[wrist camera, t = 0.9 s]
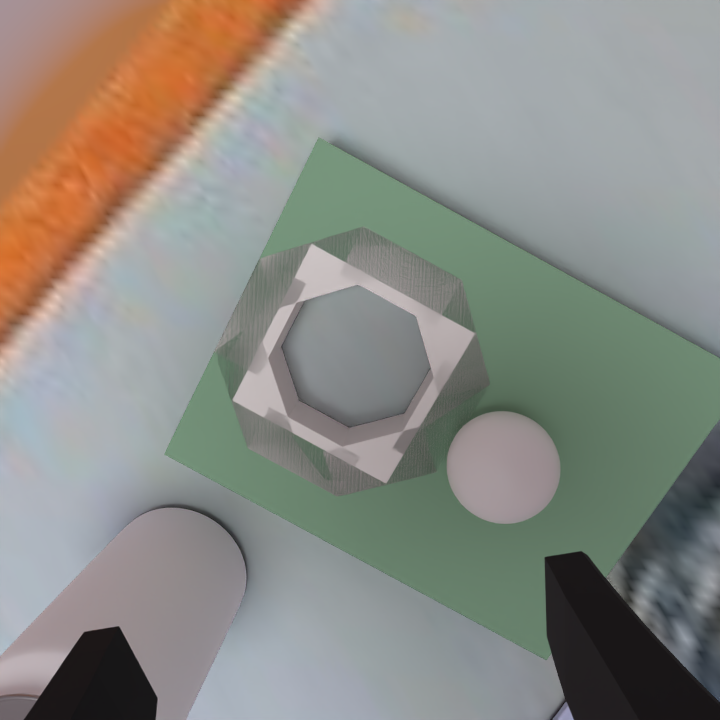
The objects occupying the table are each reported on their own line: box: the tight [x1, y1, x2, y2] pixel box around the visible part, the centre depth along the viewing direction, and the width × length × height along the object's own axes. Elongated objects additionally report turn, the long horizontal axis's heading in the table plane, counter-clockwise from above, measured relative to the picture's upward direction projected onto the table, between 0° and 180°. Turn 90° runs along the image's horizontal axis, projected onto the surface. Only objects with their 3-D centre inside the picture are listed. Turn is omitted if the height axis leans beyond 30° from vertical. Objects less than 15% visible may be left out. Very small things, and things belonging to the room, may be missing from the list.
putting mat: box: [165, 138, 720, 660], centre depth 27 cm, size 18×14×2 cm
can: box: [0, 508, 247, 720], centre depth 25 cm, size 6×6×12 cm
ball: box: [446, 411, 560, 524], centre depth 24 cm, size 4×4×4 cm
